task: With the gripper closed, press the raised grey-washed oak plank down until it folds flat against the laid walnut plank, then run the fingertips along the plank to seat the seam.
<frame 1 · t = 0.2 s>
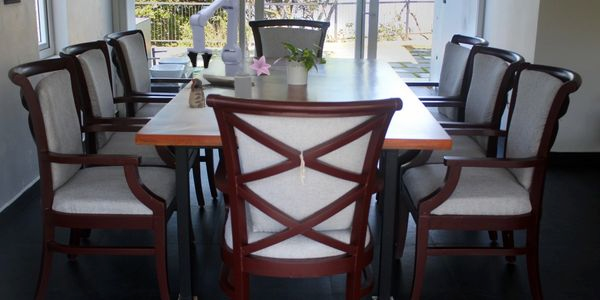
hand: (200, 67, 341), 10 cm above the table, tool pointing down, fingers open, 7 cm apart
can: (243, 100, 311), on the table
laid plank: (233, 84, 352), resting on underlay mat
figurine: (197, 106, 297), on the table
underlay mat: (227, 86, 348), on the table
lily: (260, 75, 385), on the table
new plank: (223, 80, 345), point 3 cm above the table, hinge at 35.0°
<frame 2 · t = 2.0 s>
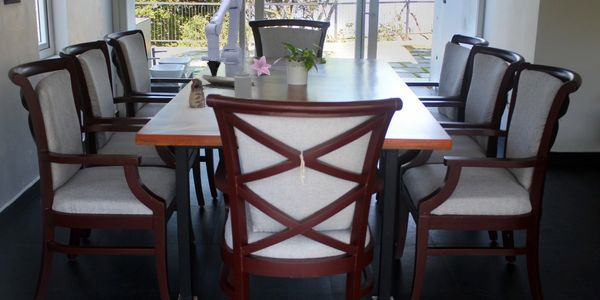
hand: (214, 76, 345), 5 cm above the table, tool pointing down, fingers closed, pressing on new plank
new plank: (223, 80, 345), point 3 cm above the table, hinge at 32.0°, touching gripper
everything else where it was.
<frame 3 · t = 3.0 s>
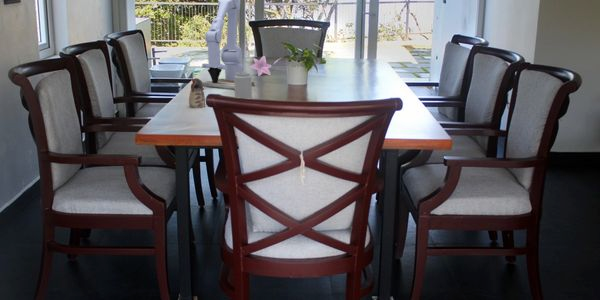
hand: (215, 83, 346), 2 cm above the table, tool pointing down, fingers closed, pressing on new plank
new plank: (222, 84, 345), point 1 cm above the table, hinge at 0.6°, touching gripper
everything else where it was.
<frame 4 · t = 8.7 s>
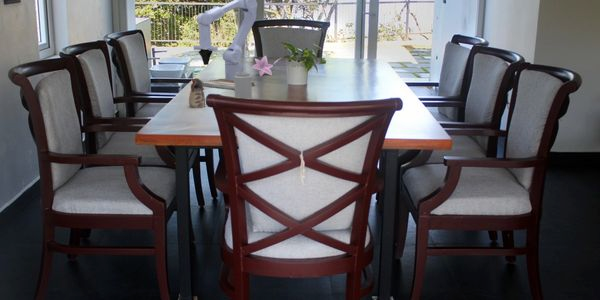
hand: (206, 64, 355), 9 cm above the table, tool pointing down, fingers closed
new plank: (222, 84, 345), point 1 cm above the table, hinge at -0.2°, touching underlay mat
at the end: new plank at +0° (first picture: +35°); the gripper is holding nothing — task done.
